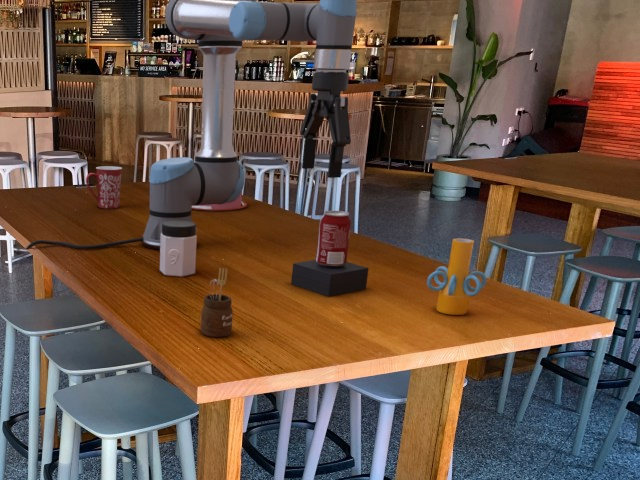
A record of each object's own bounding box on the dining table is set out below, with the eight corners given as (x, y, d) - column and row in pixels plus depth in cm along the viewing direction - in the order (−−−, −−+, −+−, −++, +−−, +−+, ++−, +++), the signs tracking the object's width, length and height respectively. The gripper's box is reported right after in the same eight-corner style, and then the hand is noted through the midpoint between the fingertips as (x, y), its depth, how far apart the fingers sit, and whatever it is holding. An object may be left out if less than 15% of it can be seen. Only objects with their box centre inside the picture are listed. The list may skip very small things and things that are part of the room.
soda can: (346, 269, 178) (352, 216, 173) (315, 268, 179) (321, 214, 174) (345, 262, 184) (351, 210, 179) (315, 261, 185) (320, 209, 180)
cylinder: (472, 323, 158) (485, 249, 153) (418, 314, 164) (430, 242, 158) (483, 308, 168) (496, 238, 162) (432, 300, 173) (443, 232, 167)
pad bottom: (328, 296, 176) (329, 285, 175) (291, 284, 185) (291, 273, 184) (366, 289, 182) (367, 278, 181) (327, 277, 191) (329, 267, 190)
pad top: (329, 285, 175) (330, 274, 174) (291, 273, 184) (292, 263, 183) (367, 278, 181) (368, 267, 180) (329, 267, 190) (330, 257, 189)
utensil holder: (196, 335, 150) (199, 274, 145) (205, 326, 155) (208, 266, 151) (227, 339, 148) (230, 277, 143) (235, 329, 153) (238, 269, 149)
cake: (218, 197, 300) (219, 168, 296) (261, 207, 280) (263, 176, 276) (163, 202, 288) (164, 172, 284) (204, 213, 268) (206, 181, 264)
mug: (118, 204, 283) (118, 165, 278) (124, 208, 275) (124, 169, 270) (84, 205, 281) (83, 166, 276) (88, 210, 273) (88, 169, 267)
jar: (155, 274, 192) (156, 225, 187) (164, 267, 199) (165, 219, 194) (191, 278, 189) (193, 228, 185) (198, 270, 197) (200, 221, 192)
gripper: (376, 73, 159) (362, 181, 167) (322, 69, 181) (312, 164, 190) (341, 73, 157) (329, 181, 166) (291, 69, 180) (283, 165, 188)
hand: (320, 172), depth 178 cm, fingers open, 13 cm apart
